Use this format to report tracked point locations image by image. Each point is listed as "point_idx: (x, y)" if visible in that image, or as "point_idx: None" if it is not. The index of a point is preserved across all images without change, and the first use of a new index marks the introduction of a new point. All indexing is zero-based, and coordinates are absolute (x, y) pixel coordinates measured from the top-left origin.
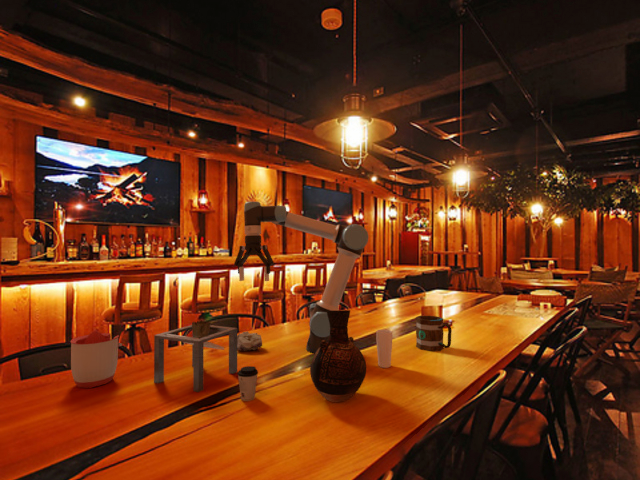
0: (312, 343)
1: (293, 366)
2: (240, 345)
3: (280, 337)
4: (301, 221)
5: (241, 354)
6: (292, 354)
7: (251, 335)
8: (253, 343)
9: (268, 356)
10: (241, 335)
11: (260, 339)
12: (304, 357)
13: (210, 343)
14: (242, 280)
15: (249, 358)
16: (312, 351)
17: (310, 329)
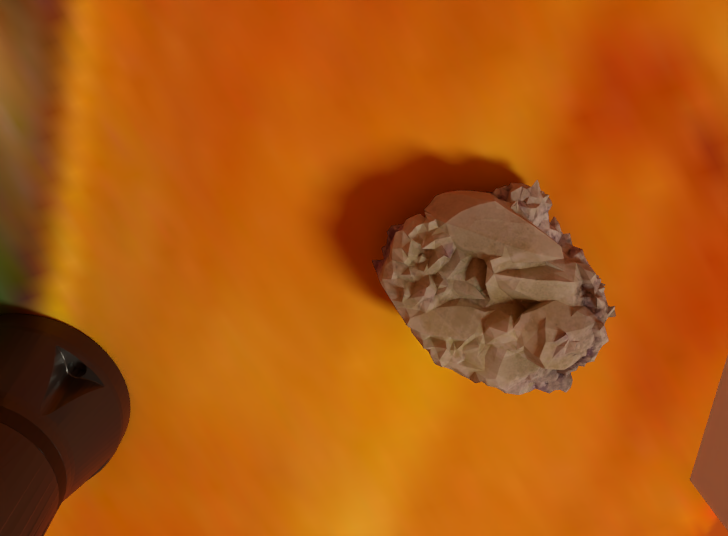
0: (25, 355)
1: (4, 29)
2: (510, 193)
3: (401, 530)
4: None
5: (473, 147)
6: (148, 253)
7: (489, 325)
8: (415, 221)
9: (275, 167)
10: (572, 315)
11: (399, 297)
12: (43, 222)
13: None
14: (711, 417)
15: (376, 86)
16: (40, 320)
17: (24, 441)
